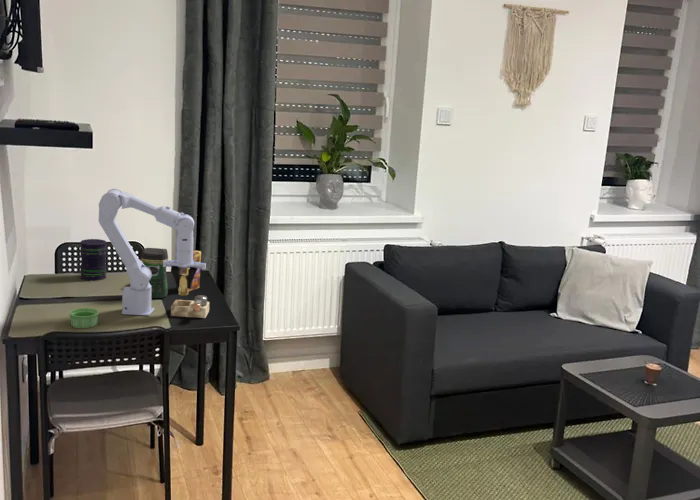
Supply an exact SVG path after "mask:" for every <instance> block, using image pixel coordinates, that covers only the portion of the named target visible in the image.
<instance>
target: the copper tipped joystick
mask: <svg viewBox="0 0 700 500" xmlns="http://www.w3.org/2000/svg"><path fill="white" fill-rule="evenodd" d="M193 298H194V300H193V301H194V305H193V311H195V312H199V311H200V308H201V306H206V305H207V302H208V296H207V295H202V294H201V295H199V294H198V295H195V296H194V297H193Z"/></svg>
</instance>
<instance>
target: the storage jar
mask: <svg viewBox="0 0 700 500" xmlns="http://www.w3.org/2000/svg"><path fill="white" fill-rule="evenodd" d="M79 251H80V257H81V258H80V262H81V264H80V269H79V270H80V271H79V272H80V279H81V280H83V281H89V282H98V281H103V280H105V279H107V264H106V261H107V260H106V259H107V258H106V256H107V241H106V240H103V239H100V238H99V239H98V238H97V239H96V238H88V239H87V238H86V239H83V240H81V241H80V250H79Z"/></svg>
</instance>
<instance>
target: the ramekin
mask: <svg viewBox="0 0 700 500" xmlns="http://www.w3.org/2000/svg"><path fill="white" fill-rule="evenodd" d="M99 314H100V311H99V310H98V309H96V308H92V307H81V308H75V309H72V310H70V311H69V316H70V325H71V327H73V328H75V327H76V328H75V329H90V328H89V327H91V328H94V327H96V326H97V325H98V320H99ZM95 325H96V326H95ZM93 326H94V327H93Z"/></svg>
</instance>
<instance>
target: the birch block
mask: <svg viewBox="0 0 700 500" xmlns="http://www.w3.org/2000/svg"><path fill="white" fill-rule="evenodd" d="M193 305H194V300H191V299H190V300H187V299H185V300H184V299H175V300H174V301H173V303H172V304H171V306H170V317H183V318H184V317H185V318H198V319H199V318H201V319H206V318H207V316H208V314H209V313H210V301H207V305H206V306H201V308H200V311H199V312H195V311H193Z"/></svg>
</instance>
